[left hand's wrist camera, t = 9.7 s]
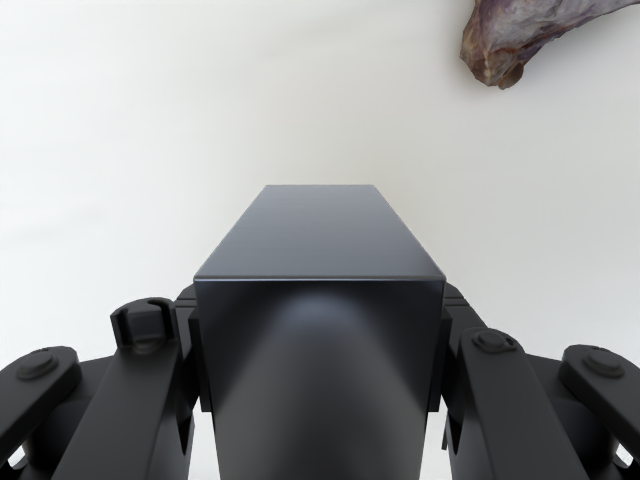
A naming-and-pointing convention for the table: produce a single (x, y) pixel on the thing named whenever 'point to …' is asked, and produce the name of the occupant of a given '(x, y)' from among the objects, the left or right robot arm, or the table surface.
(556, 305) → the table surface
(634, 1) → the rock
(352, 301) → the bar
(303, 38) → the table surface
